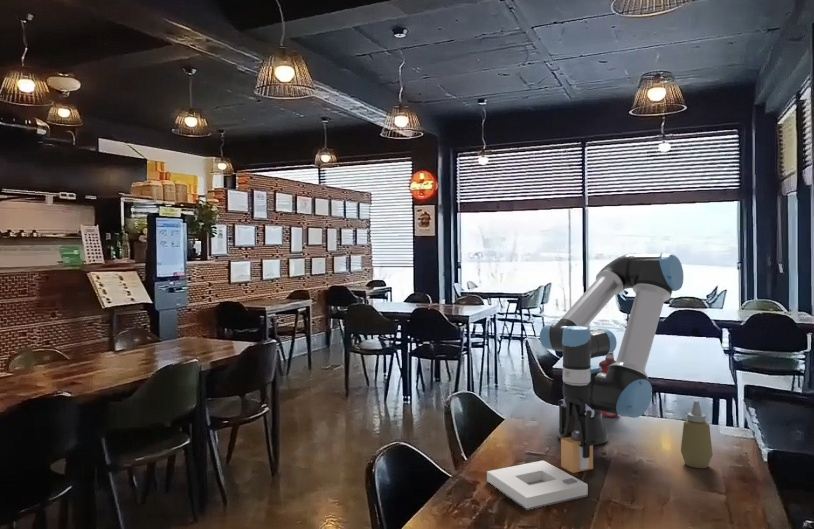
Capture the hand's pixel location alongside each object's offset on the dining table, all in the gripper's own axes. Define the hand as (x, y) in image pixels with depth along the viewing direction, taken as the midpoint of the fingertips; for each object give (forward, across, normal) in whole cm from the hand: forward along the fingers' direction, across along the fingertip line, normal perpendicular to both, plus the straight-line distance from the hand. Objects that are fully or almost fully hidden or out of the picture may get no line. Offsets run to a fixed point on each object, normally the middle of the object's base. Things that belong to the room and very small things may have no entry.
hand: (577, 464), depth 165 cm
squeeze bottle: (+1, +13, +31) cm, 34 cm away
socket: (+1, +7, -19) cm, 20 cm away
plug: (+1, 0, 0) cm, 1 cm away
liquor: (+1, -34, +43) cm, 55 cm away
